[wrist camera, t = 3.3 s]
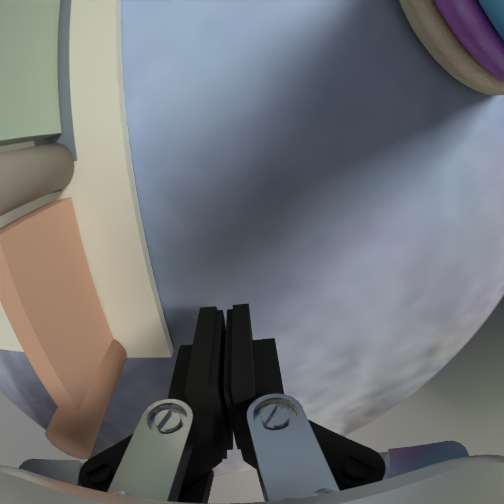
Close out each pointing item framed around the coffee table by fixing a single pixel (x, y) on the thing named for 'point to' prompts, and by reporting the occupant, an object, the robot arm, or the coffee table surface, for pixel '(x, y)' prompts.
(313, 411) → the coffee table surface
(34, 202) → the board
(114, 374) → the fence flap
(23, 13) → the bar
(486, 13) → the stacking toy
